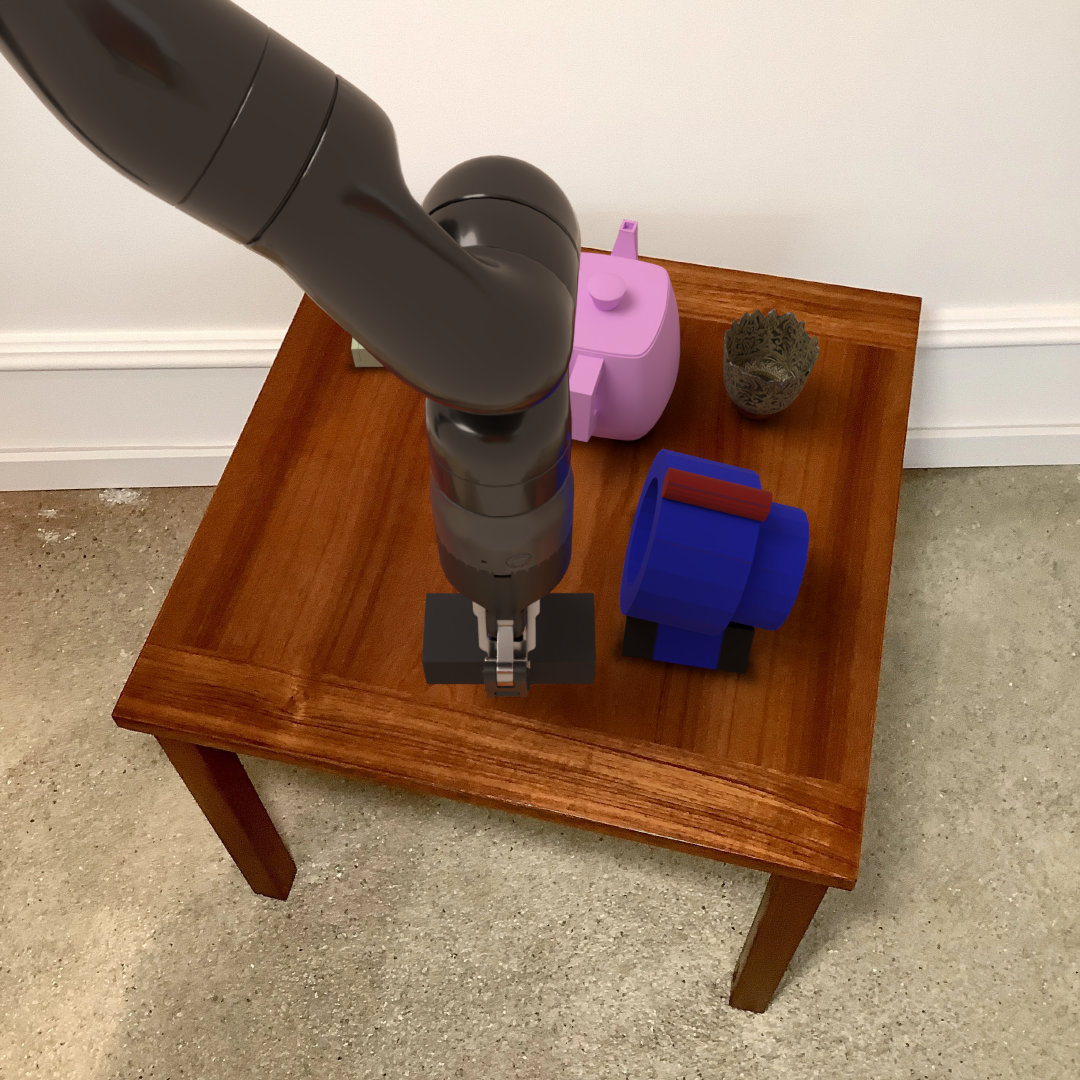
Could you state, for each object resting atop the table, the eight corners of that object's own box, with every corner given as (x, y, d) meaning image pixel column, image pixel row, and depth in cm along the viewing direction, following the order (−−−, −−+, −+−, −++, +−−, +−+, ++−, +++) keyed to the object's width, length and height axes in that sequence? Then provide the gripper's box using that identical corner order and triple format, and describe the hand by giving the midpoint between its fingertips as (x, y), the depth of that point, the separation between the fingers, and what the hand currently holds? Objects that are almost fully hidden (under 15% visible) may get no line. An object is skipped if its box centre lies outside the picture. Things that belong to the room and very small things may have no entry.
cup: (816, 426, 91) (837, 362, 84) (737, 453, 90) (752, 390, 83) (773, 362, 95) (790, 297, 88) (697, 387, 93) (708, 322, 87)
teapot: (650, 498, 88) (664, 397, 77) (500, 468, 89) (493, 365, 78) (693, 317, 98) (710, 206, 87) (558, 293, 99) (558, 181, 88)
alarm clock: (631, 515, 87) (645, 395, 74) (787, 537, 85) (829, 419, 73) (610, 653, 80) (621, 548, 68) (778, 678, 79) (822, 576, 66)
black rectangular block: (426, 684, 72) (421, 662, 69) (430, 617, 74) (425, 592, 71) (593, 684, 72) (596, 661, 69) (591, 617, 74) (594, 592, 71)
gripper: (439, 403, 62) (458, 555, 76) (425, 628, 54) (449, 750, 69) (571, 402, 62) (565, 555, 76) (575, 628, 54) (568, 750, 69)
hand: (510, 647), depth 73 cm, fingers closed on black rectangular block, 5 cm apart
